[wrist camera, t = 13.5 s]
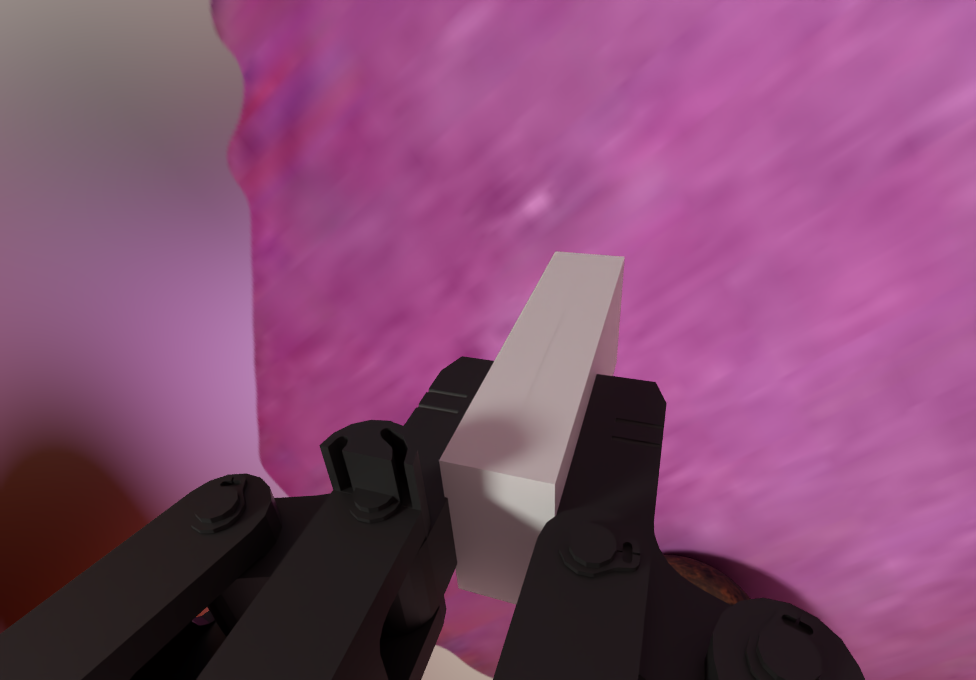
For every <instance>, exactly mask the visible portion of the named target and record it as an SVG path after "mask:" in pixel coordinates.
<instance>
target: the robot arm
mask: <svg viewBox="0 0 976 680" xmlns="http://www.w3.org/2000/svg"><path fill="white" fill-rule="evenodd" d="M624 258H625V257H620V256H607V255H594V254H581V253H568V252H555V253H554V255H553V257H552V258H551V260H550V262H549V264H548V266H547V267H546V269H545V271H544V273H543V275H542V276H541V278H540V280H539V282H538V284H537V285H536V287H535V289H534V291H533V293H532V294H531V296H530V298H529V300H528V302H527V303H526V305H525V307H524V309H523V311H522V312H521V314H520V316H519V318H518V319H517V321H516V323H515V325H514V327H513V328H512V330H511V332H510V334H509V336H508V337H507V339H506V341H505V343H504V345H503V346H502V348H501V350H500V352H499V354H498V355H497V357H496V359H495V361H490V360H483V359H476V358H470V357H463V356H462V357H460V358H459V359H457V360H456V361H454V362H453V363H452V364H450V365H449V366H447V367H446V368H444V369H443V370H441V372H440V373H439V375H438V376H437V378H436V379H435V380H434V382H433V383H432V385H431V386H430V388H429V392H428V393H427V392H426V394H425V395H424V397H423V398H422V400H421V401H420V403H419V407H418V408H416V409H415V410H414V412H413V413H412V415H411V416H410V418H409V419H408V420H407V422H406V423H405V425H404V426H402V425H399V424H397V423H394V422H391V421H382V420H369V421H364V422H359V423H355V424H351V425H349V426H347V427H345V428H343V429H341V430H339V431H337V432H335V433H333V434H332V435H331V436H330V437H328V438H327V439H326V440H325V441H324V442H323V443H322V444H321V445H320V449H321V452H322V455H323V458H324V461H325V465H326V468H327V471H328V474H329V478H330V481H331V484H332V487H333V491H332V492H331V494H324V495H318V496H301V497H285V498H274V497H273V494H272V492H271V489H270V487H269V486H268V485H267V484H266V483H265V482H264V481H263V480H262V479H261V478H260V477H256V476H253V475H250V474H232V475H226V476H223V477H220V478H217V479H214V480H211V481H209V482H207V483H205V484H203V485H202V486H200V487H198V488H197V489H195V490H193V491H192V492H190V493H189V494H187V495H186V496H185V497H183V498H182V499H181V500H179V501H178V502H177V503H175V504H174V505H173V506H171V507H170V508H169V509H168V510H166V511H165V512H163V513H162V514H161V515H159V516H158V517H157V518H155V519H154V520H153V521H151V522H150V523H149V524H147V525H146V526H145V527H143V528H142V529H141V530H139V531H138V532H136V533H135V534H134V535H132V536H131V537H130V538H129V539H127V540H126V541H124V542H123V543H122V544H120V545H119V546H118V547H116V548H115V549H114V550H112V551H111V552H110V553H108V554H107V555H106V556H104V557H103V558H102V559H100V560H99V561H98V562H96V563H95V564H94V565H92V566H91V567H90V568H88V569H87V570H86V571H84V572H83V573H82V574H80V575H79V576H78V577H76V578H75V579H74V580H72V581H71V582H69V583H68V584H67V585H65V586H64V587H63V588H61V589H60V590H59V591H57V592H56V593H55V594H53V595H52V596H51V597H50V598H48V599H47V600H45V601H44V602H43V603H41V604H40V605H39V606H37V607H36V608H35V609H33V610H32V611H31V612H29V613H28V614H27V615H25V616H24V617H23V618H21V619H20V620H19V621H17V622H16V623H15V624H13V625H12V626H10V627H9V628H8V629H6V630H5V631H4V632H2V633H1V634H0V680H421V678H422V676H423V673H424V671H425V669H426V666H427V664H428V661H429V659H430V656H431V654H432V651H433V649H434V647H435V644H436V642H437V639H438V637H439V634H440V632H441V629H442V627H443V624H444V619H445V614H446V604H445V599H444V593H445V591H446V589H447V586H448V584H449V582H450V579H451V577H452V575H453V572H454V570H455V568H456V574H457V581H458V587H459V588H460V589H463V590H467V591H470V592H474V593H477V594H481V595H484V596H488V597H492V598H495V599H499V600H502V601H506V602H509V603H513V604H516V608H515V611H514V614H513V617H512V620H511V624H510V627H509V630H508V633H507V636H506V640H505V643H504V646H503V649H502V652H501V656H500V659H499V662H498V665H497V668H496V672H495V675H494V678H493V680H865V678H864V676H863V674H862V672H861V669H860V667H859V665H858V664H857V662H856V661H855V659H854V658H853V656H852V655H851V653H850V652H849V650H848V649H847V647H846V646H845V644H844V642H843V641H842V639H840V638H839V637H838V636H837V635H836V634H835V633H834V632H833V631H832V630H830V629H829V628H828V627H827V626H826V625H825V624H824V623H823V622H821V621H820V620H819V619H818V618H817V617H815V616H813V615H811V614H809V613H807V612H805V611H804V610H802V609H800V608H798V607H796V606H794V605H792V604H790V603H786V602H781V601H776V600H771V599H767V598H757V599H750V600H743V601H739V602H737V603H736V604H734V605H733V606H731V605H730V604H728V603H726V602H724V601H722V600H720V599H719V598H717V597H715V596H713V595H711V594H710V593H708V592H706V591H704V590H702V589H701V588H699V587H697V586H696V585H694V584H693V583H691V582H690V581H688V580H687V579H685V578H684V577H682V576H681V575H680V574H679V573H678V572H677V571H676V570H675V569H674V568H673V567H672V566H671V565H670V564H669V563H668V561H667V560H666V558H665V557H664V555H663V554H662V552H661V551H660V549H659V546H658V544H657V541H656V538H655V535H654V514H655V505H656V496H657V486H658V477H659V468H660V458H661V448H662V440H663V429H664V421H665V411H666V401H665V400H664V398H663V396H662V394H661V392H660V390H659V388H658V386H657V384H656V382H650V381H643V380H636V379H629V378H622V377H615V376H613V374H614V370H615V365H616V360H617V348H618V335H619V322H620V309H621V297H622V284H623V271H624ZM206 607H208V609H209V611H208V612H207V613H205V614H204V615H202V616H200V617H196V616H197V615H198V614H199V613H201V612H202V611H203V610H204V609H205V608H206Z"/></svg>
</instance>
